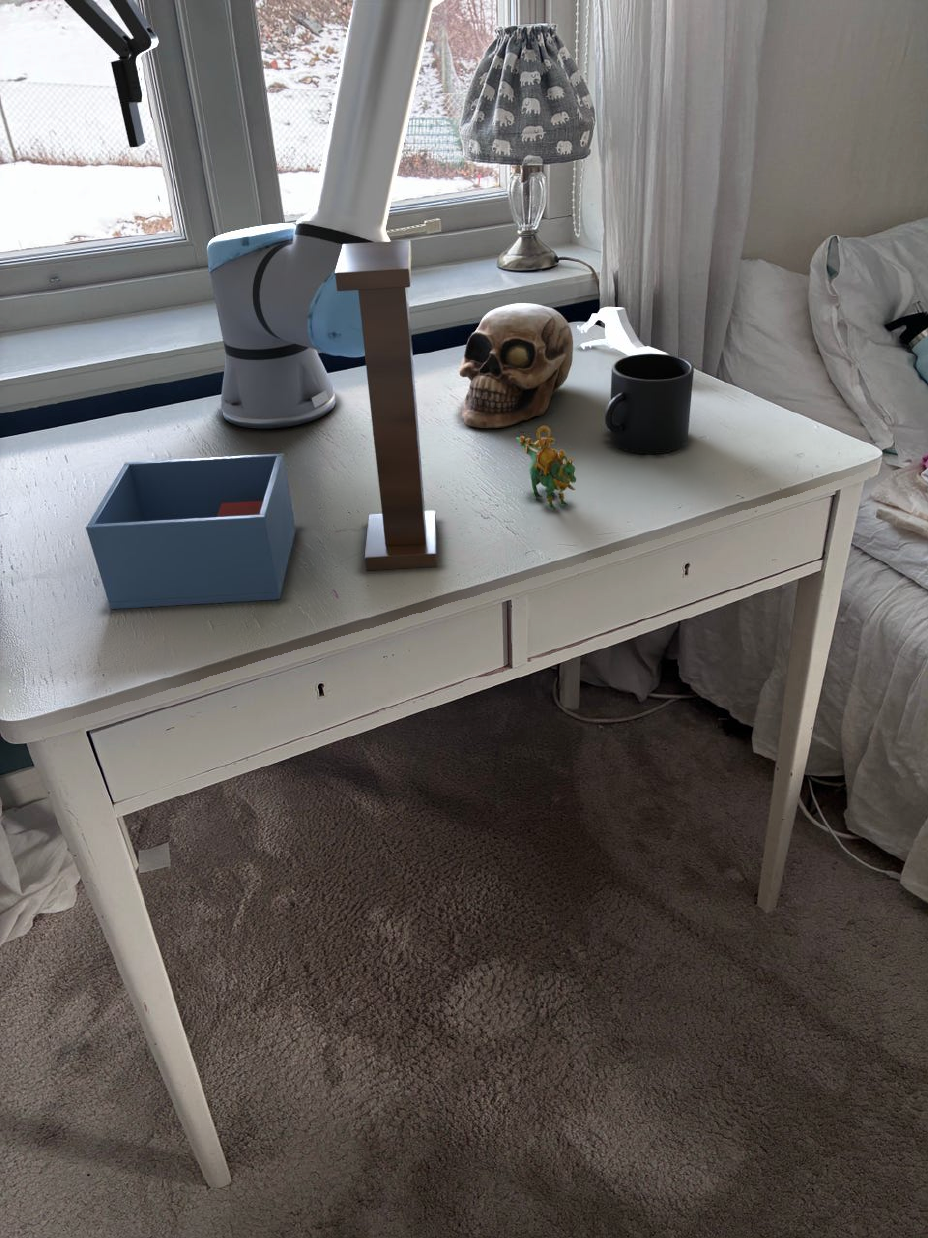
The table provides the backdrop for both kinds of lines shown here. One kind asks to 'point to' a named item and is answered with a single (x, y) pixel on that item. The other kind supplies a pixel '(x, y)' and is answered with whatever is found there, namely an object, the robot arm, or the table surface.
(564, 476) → the figurine
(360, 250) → the stand
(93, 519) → the tub
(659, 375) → the mug
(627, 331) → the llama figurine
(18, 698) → the table surface
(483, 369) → the tan skull model
